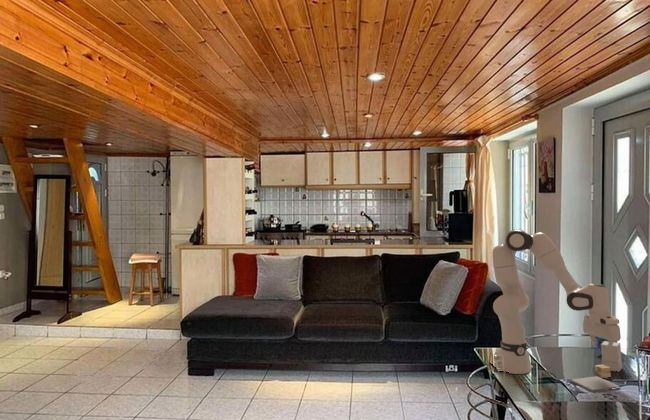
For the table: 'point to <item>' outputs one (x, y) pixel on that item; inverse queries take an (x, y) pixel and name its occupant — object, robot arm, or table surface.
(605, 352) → the supplement box
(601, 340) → the grapes
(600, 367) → the birch block
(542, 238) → the robot arm
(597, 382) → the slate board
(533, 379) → the table surface
